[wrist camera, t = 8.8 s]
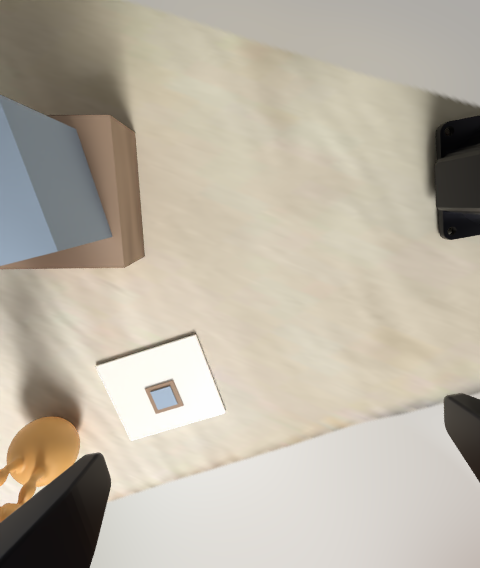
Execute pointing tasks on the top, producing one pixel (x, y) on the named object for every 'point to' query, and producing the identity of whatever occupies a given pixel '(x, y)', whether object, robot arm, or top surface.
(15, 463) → the figurine
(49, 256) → the base brick
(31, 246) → the blue brick
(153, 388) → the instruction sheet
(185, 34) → the top surface
